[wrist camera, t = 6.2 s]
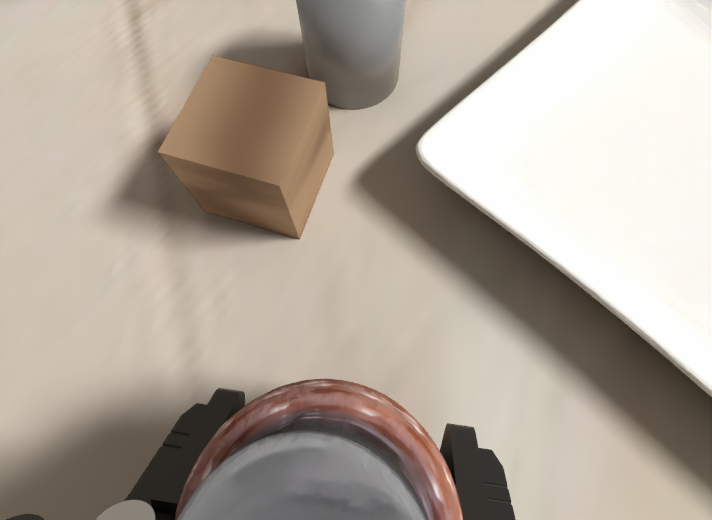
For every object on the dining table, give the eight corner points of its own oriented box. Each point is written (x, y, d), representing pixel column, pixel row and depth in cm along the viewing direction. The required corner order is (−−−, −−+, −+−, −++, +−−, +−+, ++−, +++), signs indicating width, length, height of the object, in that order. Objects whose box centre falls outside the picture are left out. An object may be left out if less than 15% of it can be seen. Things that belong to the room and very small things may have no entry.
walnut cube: (205, 211, 21) (157, 151, 16) (245, 131, 22) (212, 55, 17) (299, 239, 20) (279, 185, 15) (333, 154, 22) (324, 82, 17)
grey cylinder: (290, 80, 23) (266, -27, 18) (346, 26, 24) (341, -89, 19) (361, 125, 22) (360, 26, 16) (416, 66, 23) (432, -44, 18)
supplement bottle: (258, 405, 17) (86, 392, 7) (399, 380, 17) (453, 326, 7) (273, 577, 15) (57, 963, 5) (433, 545, 15) (586, 837, 5)
